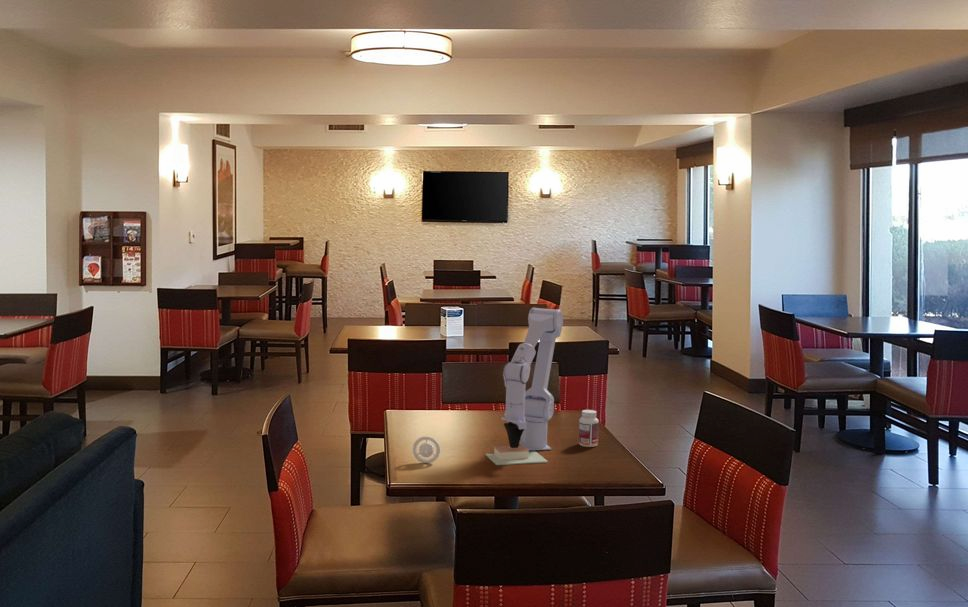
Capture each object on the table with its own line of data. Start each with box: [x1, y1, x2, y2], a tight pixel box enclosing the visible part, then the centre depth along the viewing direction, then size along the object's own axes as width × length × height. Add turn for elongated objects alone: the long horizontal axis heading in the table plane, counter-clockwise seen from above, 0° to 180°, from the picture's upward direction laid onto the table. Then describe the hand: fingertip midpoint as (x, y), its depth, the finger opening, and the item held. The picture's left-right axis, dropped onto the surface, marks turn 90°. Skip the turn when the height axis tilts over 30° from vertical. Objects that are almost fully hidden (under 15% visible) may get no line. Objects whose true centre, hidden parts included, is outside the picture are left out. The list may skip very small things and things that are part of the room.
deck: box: [493, 444, 530, 460], centre depth 271 cm, size 2×9×6 cm
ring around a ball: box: [412, 435, 441, 464], centre depth 261 cm, size 8×6×8 cm
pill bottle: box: [578, 409, 600, 448], centre depth 288 cm, size 6×6×11 cm
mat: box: [485, 451, 549, 466], centre depth 270 cm, size 11×16×1 cm
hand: (513, 447), depth 269 cm, fingers closed
